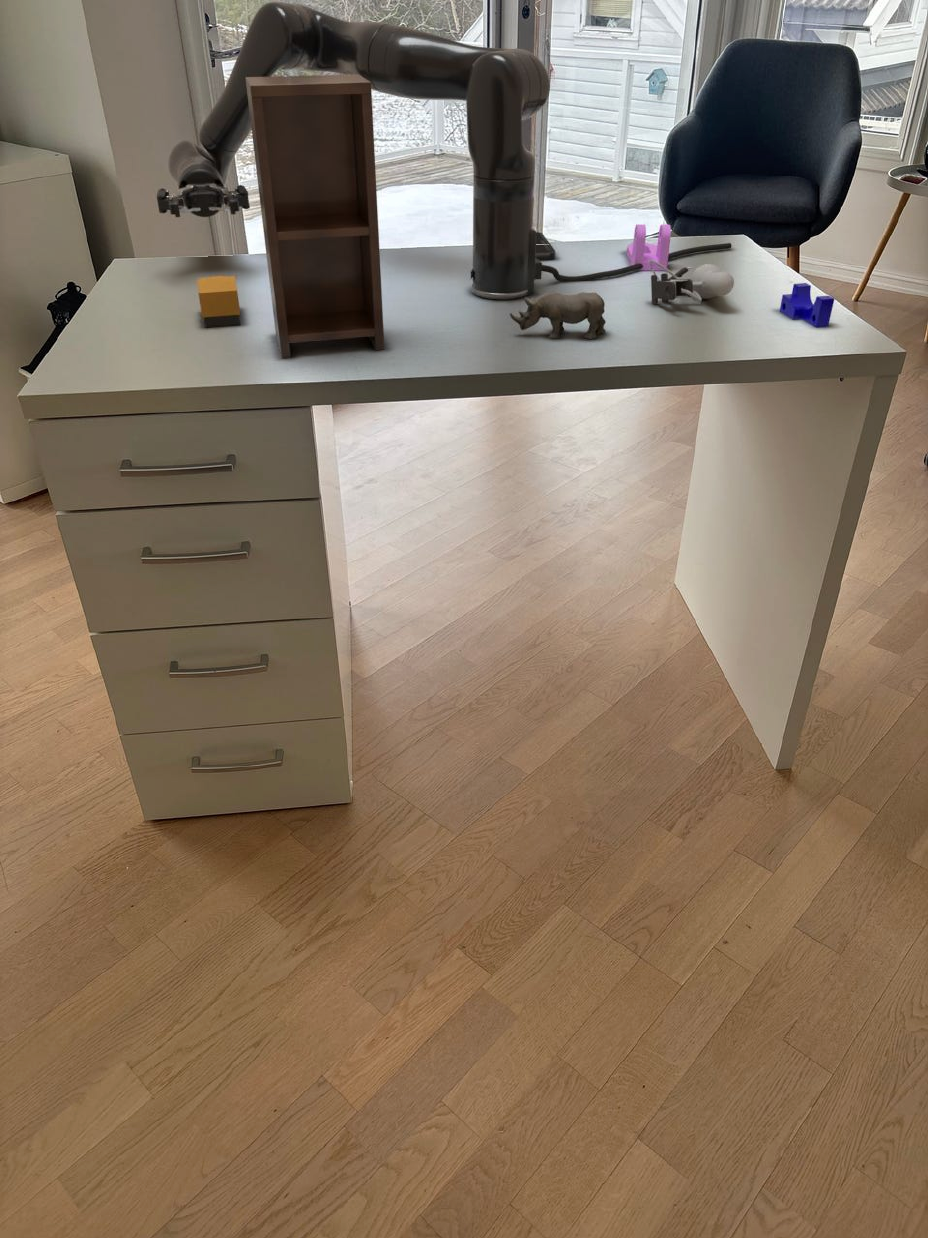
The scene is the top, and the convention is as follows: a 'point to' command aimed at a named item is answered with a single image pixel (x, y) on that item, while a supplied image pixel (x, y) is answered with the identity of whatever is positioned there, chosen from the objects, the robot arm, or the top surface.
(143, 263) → the top surface
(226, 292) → the brush
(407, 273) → the top surface
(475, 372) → the top surface
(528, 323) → the rhino figurine
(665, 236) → the bracket
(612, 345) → the top surface
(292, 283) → the shelf
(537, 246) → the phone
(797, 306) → the cable holder
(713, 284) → the clip-on lamp
